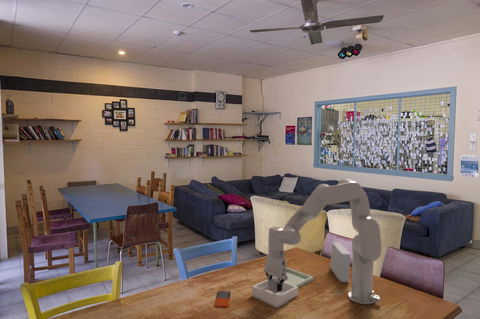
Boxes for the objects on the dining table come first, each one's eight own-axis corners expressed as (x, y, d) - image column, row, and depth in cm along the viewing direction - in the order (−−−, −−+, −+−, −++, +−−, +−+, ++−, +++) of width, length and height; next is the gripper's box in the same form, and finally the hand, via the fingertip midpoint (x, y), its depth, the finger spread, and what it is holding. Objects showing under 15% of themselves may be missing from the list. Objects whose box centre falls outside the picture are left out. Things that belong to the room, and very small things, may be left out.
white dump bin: (297, 296, 162) (298, 287, 162) (277, 308, 151) (277, 297, 151) (273, 286, 174) (273, 276, 173) (252, 295, 162) (252, 286, 162)
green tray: (313, 281, 180) (313, 276, 180) (293, 291, 168) (293, 286, 168) (287, 271, 193) (287, 267, 193) (266, 280, 181) (266, 275, 180)
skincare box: (349, 282, 179) (350, 254, 178) (339, 282, 179) (340, 254, 178) (339, 267, 200) (339, 242, 199) (330, 267, 200) (330, 241, 199)
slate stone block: (282, 290, 162) (282, 280, 162) (275, 293, 159) (275, 283, 158) (274, 287, 166) (274, 277, 165) (267, 290, 162) (268, 280, 162)
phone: (214, 305, 151) (217, 290, 166) (214, 308, 151) (217, 293, 166) (228, 306, 151) (230, 291, 166) (228, 308, 151) (230, 293, 166)
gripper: (294, 255, 157) (293, 292, 159) (267, 246, 170) (267, 281, 171) (284, 259, 152) (284, 297, 153) (257, 250, 164) (257, 285, 166)
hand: (275, 288), depth 162 cm, fingers closed on slate stone block, 5 cm apart
